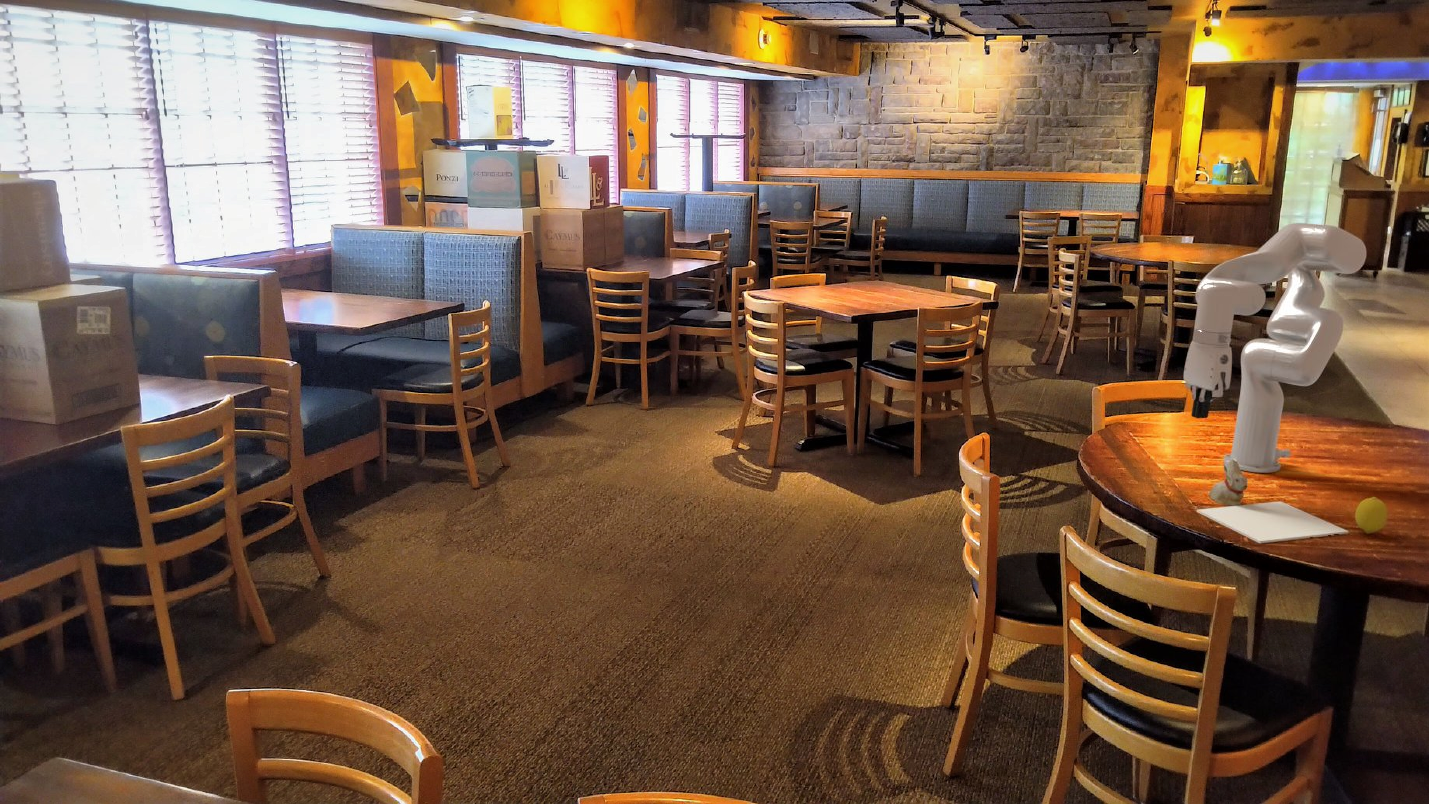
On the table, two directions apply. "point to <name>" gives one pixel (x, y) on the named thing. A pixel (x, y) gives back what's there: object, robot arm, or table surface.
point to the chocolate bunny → (1230, 486)
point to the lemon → (1371, 515)
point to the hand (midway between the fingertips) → (1199, 417)
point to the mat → (1271, 522)
